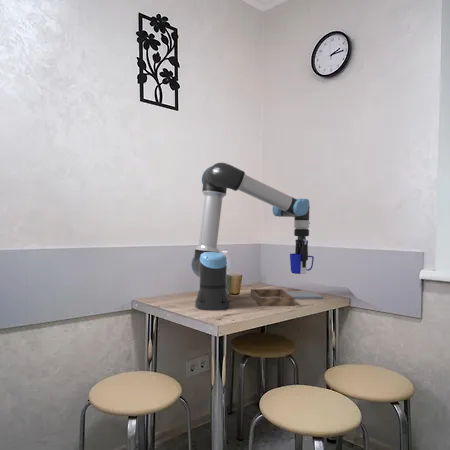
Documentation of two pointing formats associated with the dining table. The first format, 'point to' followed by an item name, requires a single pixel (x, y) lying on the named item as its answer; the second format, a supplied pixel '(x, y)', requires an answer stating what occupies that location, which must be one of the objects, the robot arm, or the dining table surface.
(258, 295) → the crate
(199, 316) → the dining table surface
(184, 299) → the dining table surface
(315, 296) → the board
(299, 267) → the mug
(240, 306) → the dining table surface
